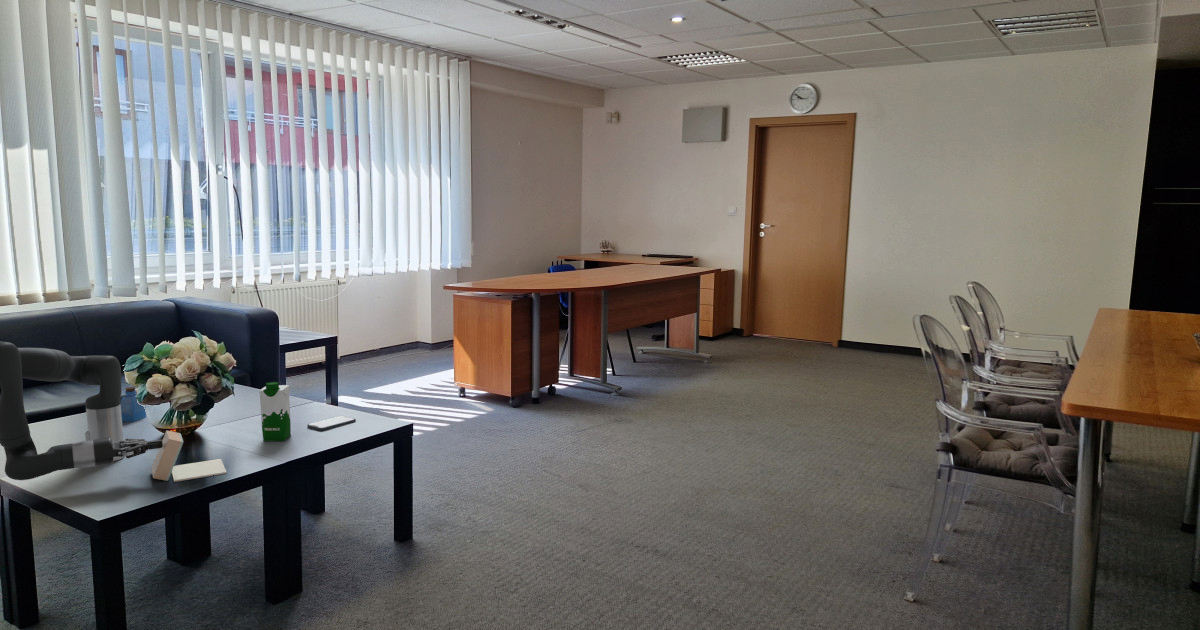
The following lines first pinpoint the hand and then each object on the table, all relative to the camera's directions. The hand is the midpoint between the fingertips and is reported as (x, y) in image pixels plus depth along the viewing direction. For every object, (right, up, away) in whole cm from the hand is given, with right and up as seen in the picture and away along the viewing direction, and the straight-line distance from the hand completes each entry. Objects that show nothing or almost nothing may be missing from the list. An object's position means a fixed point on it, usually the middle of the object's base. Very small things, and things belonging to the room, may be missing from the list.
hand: (162, 443), depth 232 cm
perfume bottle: (-45, -1, +61) cm, 76 cm away
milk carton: (+18, -5, +39) cm, 43 cm away
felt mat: (+8, -9, +6) cm, 13 cm away
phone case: (+31, -3, +56) cm, 64 cm away
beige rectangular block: (-1, -9, +1) cm, 9 cm away
